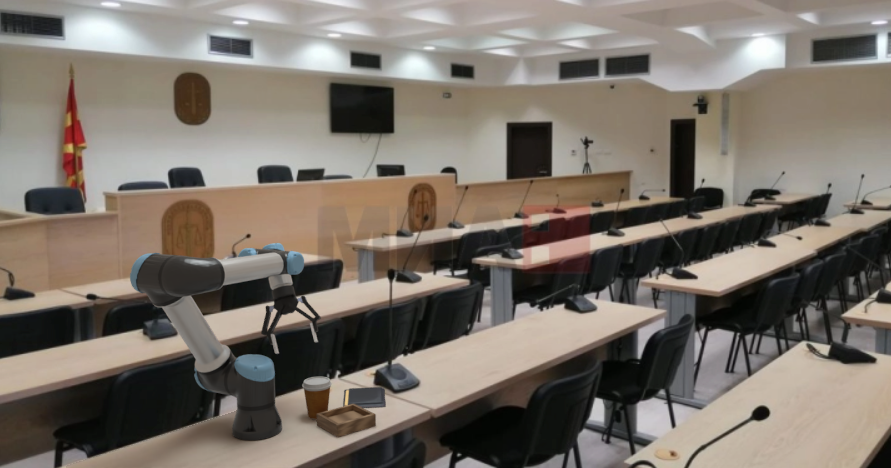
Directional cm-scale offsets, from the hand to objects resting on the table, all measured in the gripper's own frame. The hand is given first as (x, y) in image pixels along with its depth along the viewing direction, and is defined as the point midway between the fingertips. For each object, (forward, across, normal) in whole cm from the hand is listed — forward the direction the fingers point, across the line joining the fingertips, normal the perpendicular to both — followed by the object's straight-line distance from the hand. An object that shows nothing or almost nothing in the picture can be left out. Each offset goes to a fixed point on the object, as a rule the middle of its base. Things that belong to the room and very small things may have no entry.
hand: (296, 347), depth 243 cm
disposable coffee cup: (+24, -1, -1) cm, 24 cm away
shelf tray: (+29, -11, +7) cm, 32 cm away
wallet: (+22, -16, -17) cm, 32 cm away
